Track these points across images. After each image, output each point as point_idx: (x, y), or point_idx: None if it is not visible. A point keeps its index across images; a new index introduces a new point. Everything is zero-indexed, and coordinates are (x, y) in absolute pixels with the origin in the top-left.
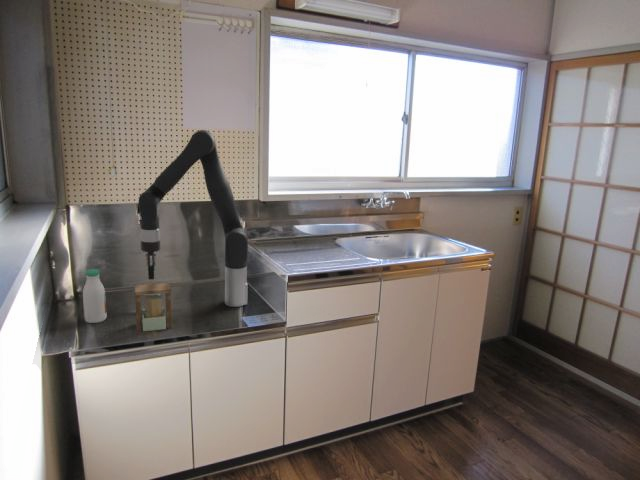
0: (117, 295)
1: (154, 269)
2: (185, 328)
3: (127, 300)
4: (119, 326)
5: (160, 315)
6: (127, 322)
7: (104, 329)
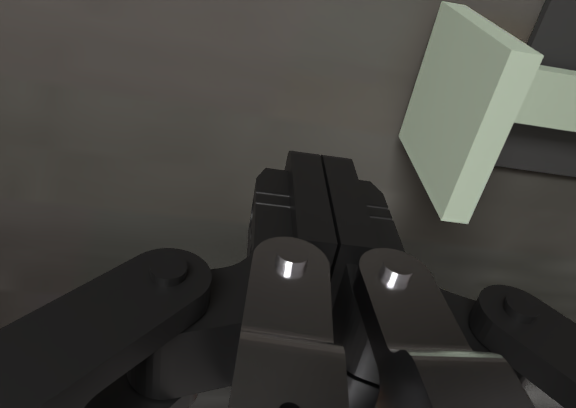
0: (29, 265)
1: (533, 309)
2: None
3: (151, 218)
4: (568, 297)
5: None
6: (544, 258)
7: None
